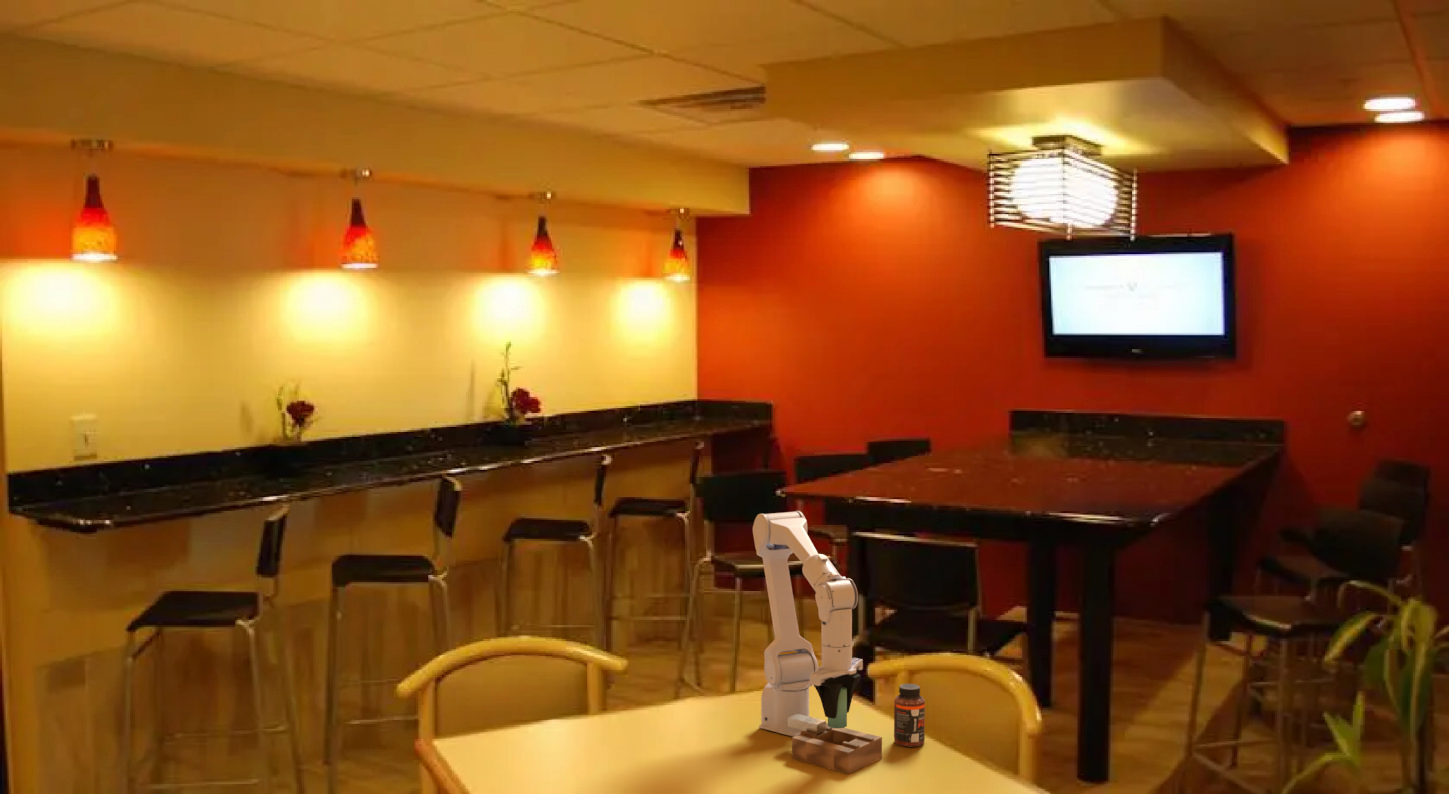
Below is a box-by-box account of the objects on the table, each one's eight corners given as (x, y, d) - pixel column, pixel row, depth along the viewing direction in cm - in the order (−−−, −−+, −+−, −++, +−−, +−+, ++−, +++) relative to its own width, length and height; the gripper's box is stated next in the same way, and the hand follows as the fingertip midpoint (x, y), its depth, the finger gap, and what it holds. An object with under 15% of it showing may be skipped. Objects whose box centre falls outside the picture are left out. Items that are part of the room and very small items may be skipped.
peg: (823, 725, 236) (823, 689, 236) (835, 721, 239) (835, 685, 239) (839, 729, 234) (839, 693, 234) (850, 725, 237) (850, 688, 236)
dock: (792, 758, 237) (791, 735, 237) (826, 743, 245) (826, 720, 245) (848, 774, 229) (848, 750, 228) (881, 758, 237) (881, 734, 237)
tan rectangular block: (787, 726, 242) (787, 717, 242) (797, 722, 245) (797, 713, 245) (817, 734, 238) (817, 724, 238) (826, 730, 240) (826, 720, 240)
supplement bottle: (924, 749, 242) (924, 691, 241) (893, 747, 243) (893, 690, 242) (925, 739, 248) (925, 682, 247) (895, 737, 249) (895, 681, 248)
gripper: (831, 655, 228) (831, 728, 228) (875, 639, 239) (876, 709, 239) (800, 648, 232) (800, 720, 233) (845, 633, 243) (845, 702, 244)
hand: (836, 714), depth 236 cm, fingers closed on peg, 4 cm apart
